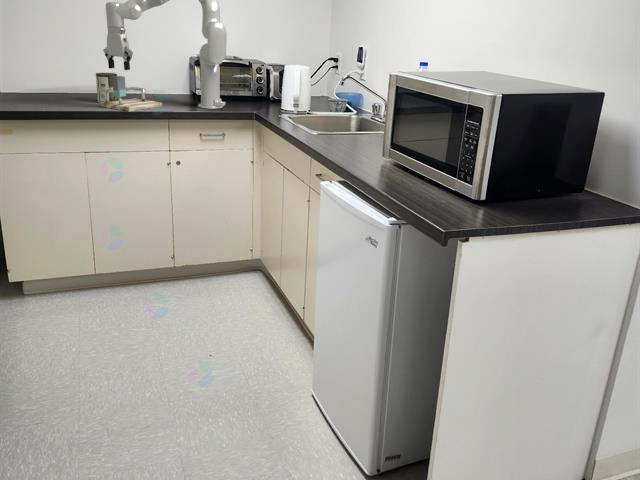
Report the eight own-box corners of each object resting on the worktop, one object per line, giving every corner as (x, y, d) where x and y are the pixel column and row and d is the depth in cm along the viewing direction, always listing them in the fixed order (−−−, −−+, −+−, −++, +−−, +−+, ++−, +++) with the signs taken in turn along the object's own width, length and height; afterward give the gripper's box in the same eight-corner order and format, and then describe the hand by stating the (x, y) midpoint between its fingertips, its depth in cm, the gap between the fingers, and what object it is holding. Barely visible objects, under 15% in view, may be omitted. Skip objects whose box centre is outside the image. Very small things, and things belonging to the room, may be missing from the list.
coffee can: (118, 100, 306) (116, 72, 301) (119, 103, 297) (117, 75, 292) (97, 100, 302) (95, 72, 297) (97, 103, 293) (95, 74, 288)
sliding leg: (127, 103, 284) (125, 76, 280) (119, 104, 280) (117, 77, 275) (120, 102, 286) (119, 75, 281) (113, 103, 282) (111, 76, 277)
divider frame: (146, 101, 297) (145, 88, 295) (116, 105, 280) (116, 91, 278) (134, 99, 300) (133, 86, 298) (104, 103, 283) (103, 90, 281)
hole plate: (162, 106, 297) (162, 102, 296) (129, 111, 277) (129, 107, 276) (134, 102, 304) (134, 98, 303) (101, 106, 284) (100, 102, 284)
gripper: (136, 31, 271) (139, 70, 277) (108, 29, 278) (111, 67, 284) (124, 32, 264) (127, 71, 271) (96, 29, 271) (99, 68, 278)
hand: (119, 69), depth 277 cm, fingers open, 9 cm apart
